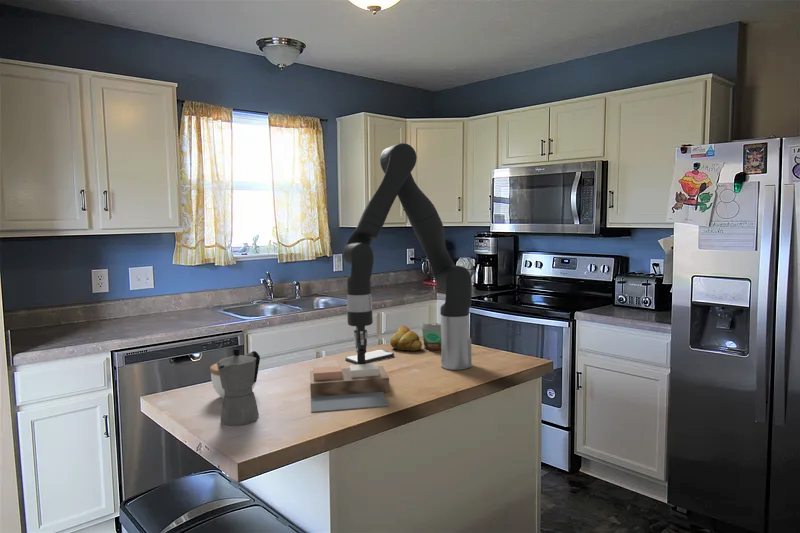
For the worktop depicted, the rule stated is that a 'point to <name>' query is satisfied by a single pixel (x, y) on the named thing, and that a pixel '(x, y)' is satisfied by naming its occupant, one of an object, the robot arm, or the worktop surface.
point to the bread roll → (405, 340)
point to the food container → (431, 336)
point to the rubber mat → (348, 402)
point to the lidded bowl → (218, 380)
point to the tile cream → (364, 370)
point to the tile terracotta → (327, 372)
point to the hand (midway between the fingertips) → (361, 365)
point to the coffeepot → (239, 388)
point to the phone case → (371, 356)
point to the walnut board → (349, 384)
